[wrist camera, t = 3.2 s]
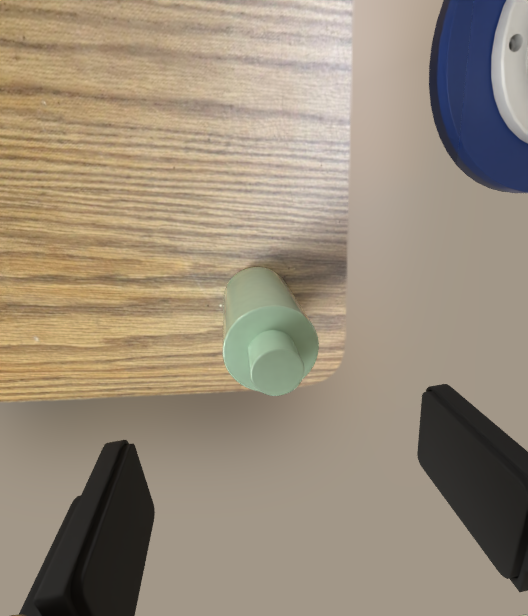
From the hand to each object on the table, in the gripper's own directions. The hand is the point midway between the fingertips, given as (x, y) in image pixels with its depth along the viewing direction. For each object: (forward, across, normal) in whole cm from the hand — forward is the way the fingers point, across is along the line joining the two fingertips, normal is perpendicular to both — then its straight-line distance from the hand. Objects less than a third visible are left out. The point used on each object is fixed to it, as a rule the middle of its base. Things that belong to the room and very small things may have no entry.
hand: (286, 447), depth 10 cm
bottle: (+14, -1, 0) cm, 14 cm away
